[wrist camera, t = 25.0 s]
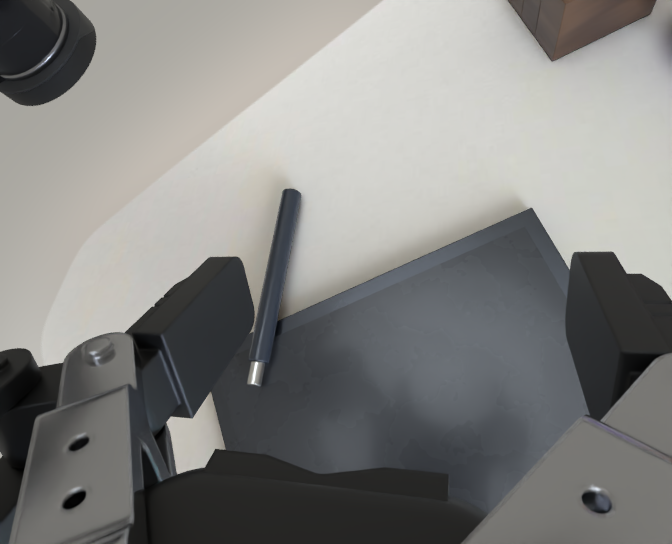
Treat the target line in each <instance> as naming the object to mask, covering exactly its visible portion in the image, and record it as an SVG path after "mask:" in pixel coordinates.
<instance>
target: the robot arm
mask: <svg viewBox="0 0 672 544" xmlns="http://www.w3.org/2000/svg"><path fill="white" fill-rule="evenodd" d="M68 31H69V21H68V17H67V15H66V13H65V12H64V11H63V10H62V9H61V8H60V7H59V6H58V5H57V4H56V3H54V2H53V1H52V0H0V83H1V82H3V81H5V80H9V81H20V80H24V79H27V78H30V77H32V76H34V75H36V74H38V73H39V72H41V71H42V70H43V69H45V68H46V67H47V66H48V65H49V64H50V63H51V62H52V61H53V60H54V59H55V58H56V57H57V55H58V54H59V53H60V51H61V49H62V48H63V46H64V44H65V42H66V39H67V36H68ZM154 305H155V306H154V307H151V308H150V309H149V310H148V311H147V312H146V313H145V314H144V315H143V316H142V317H141V318H140V319H139V320H138V321H137V322H135V323H134V324H133V325H132V326H131V327H130V328H129V329H128V330H127V331H126V332H125V333H121V332H115V333H108V334H103V335H100V336H97V337H94V338H92V339H89V340H87V341H85V342H83V343H82V344H80V345H78V346H77V347H76V348H74V349H73V350H72V351H71V352H70V353H69V354H68V355H67V356H66V358H65V359H64V362H63V363H59V364H53V365H48V366H42V367H38V365H37V363H36V362H35V360H34V358H33V356H32V354H31V352H30V351H29V350H27V349H21V348H17V349H10V350H5V351H2V352H0V452H1V454H2V455H3V456H2V458H0V544H672V301H671V299H670V298H669V296H668V295H667V293H666V292H665V291H664V289H663V288H662V286H660V285H659V284H657V283H655V282H654V281H652V280H650V279H649V278H647V277H646V276H644V275H642V274H626V272H625V270H624V269H623V267H622V265H621V264H620V262H619V260H618V259H617V257H616V255H615V254H614V252H574V253H573V256H572V259H571V266H570V276H569V285H568V294H567V304H566V314H565V328H566V337H567V341H568V345H569V348H570V351H571V355H572V358H573V361H574V365H575V368H576V371H577V374H578V378H579V381H580V384H581V388H582V391H583V394H584V398H585V401H586V404H587V407H588V411H589V414H590V415H583V416H581V417H580V418H579V419H577V420H576V421H575V422H574V423H573V424H572V426H571V427H570V428H569V429H568V430H567V431H566V432H565V433H564V434H563V435H562V436H561V437H560V438H559V439H558V440H557V442H556V443H555V444H554V445H553V446H552V447H551V448H550V449H549V450H548V451H547V452H546V453H545V454H544V455H543V456H542V458H541V459H540V460H539V461H538V462H537V463H536V464H535V465H534V466H533V467H532V468H531V469H530V470H529V471H528V473H527V474H526V475H525V476H524V477H523V478H522V479H521V480H520V481H519V482H518V483H517V484H516V485H515V486H514V487H513V489H512V490H511V491H510V492H509V493H508V494H507V495H506V496H505V497H504V498H503V499H502V500H501V501H500V502H499V503H498V505H497V506H496V507H495V508H494V509H493V510H492V511H491V512H490V513H489V514H488V513H486V512H484V511H483V510H481V509H480V508H478V507H476V506H474V505H472V504H470V503H468V502H466V501H464V500H462V499H459V498H457V497H454V496H451V495H449V474H446V473H436V472H427V471H417V470H408V469H398V468H389V467H382V468H373V469H364V470H355V471H346V472H337V473H328V474H319V473H315V472H312V471H309V470H307V469H304V468H301V467H299V466H296V465H293V464H291V463H288V462H285V461H283V460H280V459H277V458H275V457H272V456H270V455H267V454H257V453H248V452H238V451H229V450H219V449H215V451H214V453H213V454H212V456H211V458H210V460H209V461H208V463H207V465H206V467H205V468H199V469H195V470H190V471H186V472H183V473H180V474H177V473H176V467H175V460H174V454H173V448H172V441H171V435H170V431H169V428H168V426H167V423H166V422H167V421H168V419H169V418H170V416H173V417H184V418H193V417H194V415H195V414H196V412H197V411H198V409H199V408H200V406H201V405H202V403H203V402H204V400H205V399H206V397H207V396H208V394H209V393H210V391H211V390H212V388H213V387H214V385H215V384H216V382H217V381H218V379H219V378H220V376H221V375H222V373H223V372H224V370H225V369H226V367H227V366H228V364H229V363H230V361H231V360H232V358H233V357H234V355H235V354H236V352H237V351H238V349H239V348H240V346H241V345H242V343H243V342H244V340H245V339H246V337H247V336H248V334H249V333H250V331H251V329H252V327H253V323H254V315H255V314H254V306H253V302H252V298H251V294H250V290H249V286H248V282H247V278H246V274H245V269H244V266H243V263H242V261H241V259H240V258H238V257H210V258H208V259H207V260H206V261H205V262H204V263H203V264H202V265H201V266H200V267H199V268H198V269H197V270H196V271H194V272H193V273H192V274H191V275H190V276H189V277H188V278H186V279H184V280H182V281H181V282H179V283H177V284H175V285H174V286H173V287H172V288H171V289H170V290H169V291H168V292H167V293H166V294H165V295H164V298H161V299H160V300H159V301H158V302H156V303H155V304H154Z"/></svg>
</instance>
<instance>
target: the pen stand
mask: <svg viewBox="0 0 672 544" xmlns="http://www.w3.org/2000/svg"><path fill="white" fill-rule="evenodd" d="M509 2H510V3H511V5H512V6H513V7H514V9H515V10H516V12H517V13H518V14H519V16H520V17H521V18H522V20H523V21H524V23H525V24H526V26H527V27H528V28H529V30H530V31H531V32H532V34H533V35H534V36H535V38H536V39H537V41H538V42H539V43H540V45H541V46H542V48H543V49H544V50H545V52H546V53H547V54H548V56H549V57H550V59H551V60H552V61H554V60H556V59H558V58H560V57H562V56H564V55H566V54H569V53H571V52H573V51H575V50H577V49H579V48H581V47H583V46H585V45H587V44H589V43H591V42H593V41H595V40H597V39H599V38H602V37H604V36H606V35H608V34H610V33H612V32H614V31H616V30H618V29H620V28H622V27H624V26H626V25H628V24H630V23H632V22H634V21H637V20H639V19H641V18H643V17H645V16H647V15H649V14H650V13H651V11H652V9H653V7H654V5H655V2H656V0H509Z"/></svg>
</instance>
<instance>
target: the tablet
mask: <svg viewBox="0 0 672 544" xmlns="http://www.w3.org/2000/svg"><path fill="white" fill-rule="evenodd" d="M569 276H570V270H569V268H568V267H567V265H566V263H565V262H564V260H563V258H562V257H561V255H560V253H559V252H558V250H557V248H556V247H555V245H554V243H553V242H552V240H551V238H550V237H549V235H548V233H547V232H546V230H545V229H544V227H543V225H542V224H541V222H540V220H539V219H538V217H537V215H536V214H535V212H534V210H533V209H532V208H530V209H527V210H525V211H523V212H521V213H518V214H516V215H514V216H512V217H510V218H507V219H505V220H503V221H501V222H498V223H496V224H494V225H492V226H489V227H487V228H485V229H483V230H480V231H478V232H476V233H474V234H472V235H469V236H467V237H465V238H463V239H460V240H458V241H456V242H454V243H451V244H449V245H447V246H445V247H442V248H440V249H438V250H436V251H433V252H431V253H429V254H427V255H425V256H422V257H420V258H418V259H416V260H413V261H411V262H409V263H407V264H404V265H402V266H400V267H398V268H395V269H393V270H391V271H389V272H387V273H384V274H382V275H380V276H378V277H375V278H373V279H371V280H369V281H366V282H364V283H362V284H360V285H357V286H355V287H353V288H351V289H349V290H346V291H344V292H342V293H340V294H337V295H335V296H333V297H331V298H328V299H326V300H324V301H322V302H319V303H317V304H315V305H313V306H311V307H308V308H306V309H304V310H302V311H299V312H297V313H295V314H293V315H290V316H288V317H286V318H284V319H281V320H279V321H277V325H276V331H275V336H274V341H273V346H272V352H271V357H270V362H269V364H265V367H264V373H263V378H262V383H261V386H260V387H258V386H251V385H248V384H247V380H248V376H249V371H250V366H251V361H249V360H248V356H249V351H250V346H251V342H252V337H253V332H252V333H250V334H248V336H247V337H246V339H245V340H244V342H243V343H242V345H241V346H240V348H239V349H238V351H237V352H236V354H235V355H234V357H233V358H232V360H231V361H230V363H229V364H228V366H227V367H226V369H225V370H224V372H223V373H222V375H221V376H220V378H219V379H218V381H217V382H216V384H215V385H214V387H213V388H212V390H211V393H212V397H213V401H214V404H215V408H216V412H217V416H218V420H219V424H220V428H221V432H222V436H223V440H224V443H225V447H226V450H229V451H238V452H248V453H257V454H267V455H270V456H272V457H275V458H277V459H280V460H283V461H285V462H288V463H291V464H293V465H296V466H299V467H301V468H304V469H307V470H309V471H312V472H315V473H319V474H328V473H337V472H346V471H355V470H364V469H373V468H382V467H389V468H398V469H408V470H417V471H427V472H436V473H446V474H449V495H451V496H454V497H457V498H459V499H462V500H464V501H466V502H468V503H470V504H472V505H474V506H476V507H478V508H480V509H481V510H483V511H484V512H486V513H488V514H489V513H490V512H491V511H492V510H493V509H494V508H495V507H496V506H497V505H498V503H499V502H500V501H501V500H502V499H503V498H504V497H505V496H506V495H507V494H508V493H509V492H510V491H511V490H512V489H513V487H514V486H515V485H516V484H517V483H518V482H519V481H520V480H521V479H522V478H523V477H524V476H525V475H526V474H527V473H528V471H529V470H530V469H531V468H532V467H533V466H534V465H535V464H536V463H537V462H538V461H539V460H540V459H541V458H542V456H543V455H544V454H545V453H546V452H547V451H548V450H549V449H550V448H551V447H552V446H553V445H554V444H555V443H556V442H557V440H558V439H559V438H560V437H561V436H562V435H563V434H564V433H565V432H566V431H567V430H568V429H569V428H570V427H571V426H572V424H573V423H574V422H575V421H576V420H577V419H579V418H580V417H581V416H583V415H590V414H589V411H588V407H587V404H586V401H585V398H584V394H583V391H582V388H581V384H580V381H579V378H578V374H577V371H576V368H575V365H574V361H573V358H572V355H571V351H570V348H569V345H568V341H567V337H566V328H565V314H566V304H567V294H568V285H569Z"/></svg>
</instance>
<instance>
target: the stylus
mask: <svg viewBox="0 0 672 544" xmlns="http://www.w3.org/2000/svg"><path fill="white" fill-rule="evenodd" d="M300 200H301V193H300V192H299V191H297V190H294V189H285V190H283V192H282V197H281V202H280V206H279V211H278V216H277V221H276V226H275V231H274V235H273V240H272V245H271V250H270V255H269V260H268V264H267V269H266V274H265V279H264V284H263V289H262V293H261V298H260V303H259V308H258V313H257V317H256V322H255V327H254V332H253V337H252V342H251V346H250V351H249V356H248V360H249V361H251V366H250V371H249V376H248V380H247V384H248V385H251V386H258V387H260V386H261V383H262V378H263V373H264V367H265V364H269V362H270V357H271V352H272V346H273V341H274V336H275V331H276V325H277V320H278V315H279V310H280V304H281V299H282V294H283V289H284V284H285V278H286V273H287V268H288V263H289V257H290V252H291V247H292V242H293V236H294V231H295V226H296V221H297V216H298V210H299V205H300Z"/></svg>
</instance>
